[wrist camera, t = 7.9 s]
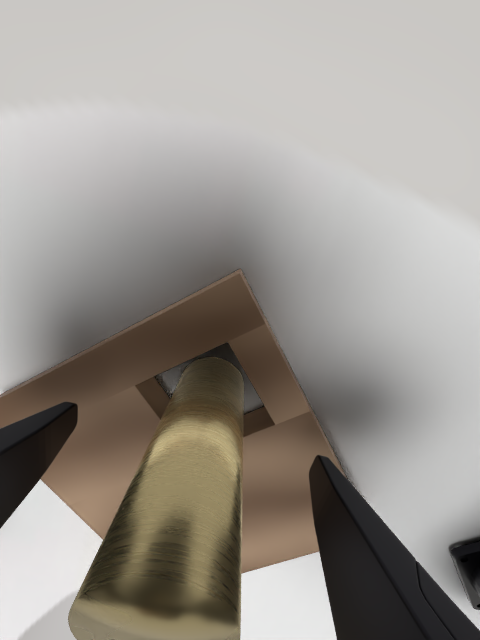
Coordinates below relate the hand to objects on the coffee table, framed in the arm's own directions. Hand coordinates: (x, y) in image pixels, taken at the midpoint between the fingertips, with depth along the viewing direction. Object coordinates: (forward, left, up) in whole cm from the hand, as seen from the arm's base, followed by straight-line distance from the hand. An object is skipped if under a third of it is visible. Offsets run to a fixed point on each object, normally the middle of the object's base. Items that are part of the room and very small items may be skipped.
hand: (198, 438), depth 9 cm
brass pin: (0, 0, -3) cm, 3 cm away
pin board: (-4, +3, -3) cm, 6 cm away
